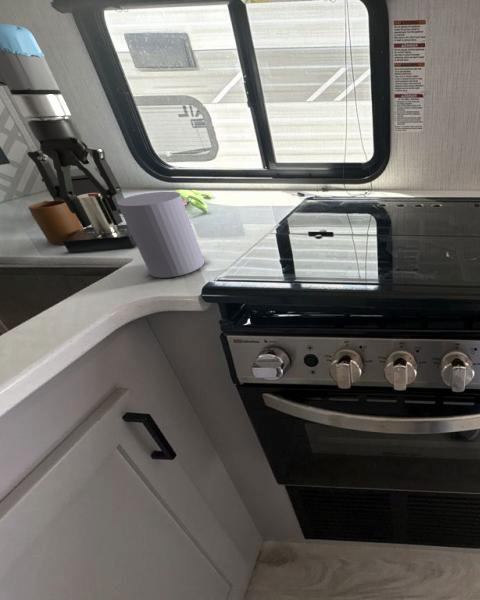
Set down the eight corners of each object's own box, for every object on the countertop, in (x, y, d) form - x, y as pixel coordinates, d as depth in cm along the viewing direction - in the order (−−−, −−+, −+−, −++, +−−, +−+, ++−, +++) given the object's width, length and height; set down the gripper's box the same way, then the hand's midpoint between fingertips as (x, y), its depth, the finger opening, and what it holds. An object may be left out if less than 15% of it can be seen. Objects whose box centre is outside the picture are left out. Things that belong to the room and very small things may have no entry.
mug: (45, 236, 89) (23, 201, 84) (80, 228, 94) (62, 195, 89) (51, 247, 82) (28, 210, 77) (90, 238, 87) (70, 203, 82)
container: (141, 281, 67) (105, 207, 59) (162, 260, 75) (133, 193, 67) (195, 276, 68) (168, 203, 60) (210, 256, 77) (188, 190, 69)
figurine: (137, 224, 97) (128, 205, 94) (157, 201, 118) (151, 185, 115) (206, 216, 102) (200, 198, 99) (214, 195, 123) (209, 180, 121)
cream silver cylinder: (91, 235, 81) (71, 196, 76) (101, 229, 84) (82, 192, 79) (112, 233, 81) (93, 195, 77) (120, 227, 85) (103, 191, 80)
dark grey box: (121, 213, 106) (105, 177, 101) (65, 220, 100) (44, 183, 94) (125, 201, 119) (111, 168, 113) (75, 207, 112) (57, 173, 107)
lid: (103, 176, 100) (102, 173, 99) (42, 182, 93) (40, 179, 93) (111, 168, 113) (109, 166, 112) (57, 173, 107) (56, 170, 106)
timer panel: (69, 253, 79) (61, 240, 78) (92, 238, 88) (86, 226, 86) (133, 247, 82) (128, 235, 80) (150, 233, 90) (146, 222, 88)
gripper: (109, 116, 74) (151, 217, 87) (10, 119, 71) (69, 222, 83) (90, 118, 68) (138, 226, 80) (-19, 121, 65) (48, 232, 77)
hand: (103, 224), depth 82 cm, fingers open, 6 cm apart
